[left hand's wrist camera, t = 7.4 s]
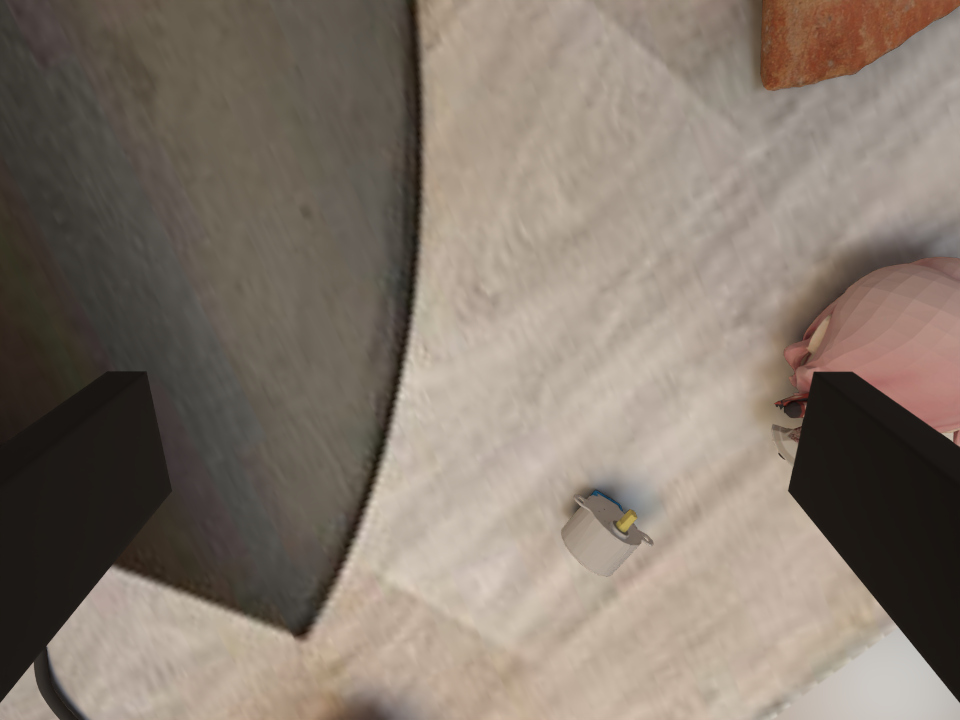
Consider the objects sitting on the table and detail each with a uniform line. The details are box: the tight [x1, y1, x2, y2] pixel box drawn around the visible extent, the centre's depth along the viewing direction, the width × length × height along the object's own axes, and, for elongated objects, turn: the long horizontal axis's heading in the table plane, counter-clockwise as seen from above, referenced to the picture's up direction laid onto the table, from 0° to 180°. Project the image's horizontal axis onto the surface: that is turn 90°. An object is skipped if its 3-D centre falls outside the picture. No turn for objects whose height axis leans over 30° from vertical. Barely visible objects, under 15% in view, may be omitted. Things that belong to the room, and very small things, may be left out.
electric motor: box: [561, 490, 654, 577], centre depth 44 cm, size 7×5×5 cm
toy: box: [771, 257, 960, 467], centre depth 37 cm, size 12×11×15 cm
